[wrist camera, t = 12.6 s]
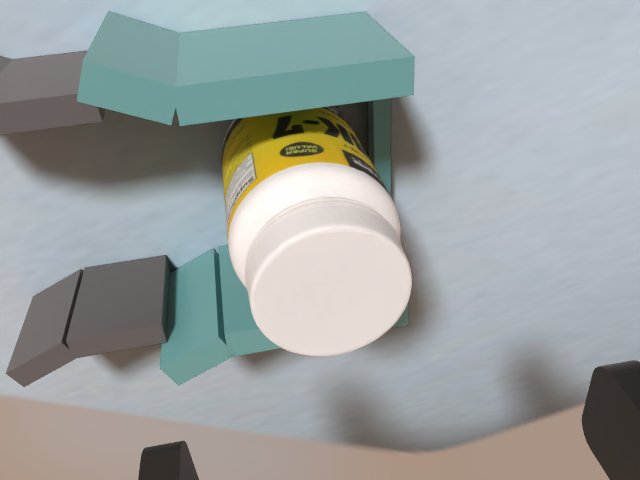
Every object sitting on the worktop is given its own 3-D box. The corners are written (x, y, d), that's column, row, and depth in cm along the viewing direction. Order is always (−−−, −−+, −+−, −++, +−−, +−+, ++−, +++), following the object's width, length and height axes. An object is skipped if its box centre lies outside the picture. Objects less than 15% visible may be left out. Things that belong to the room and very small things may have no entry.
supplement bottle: (375, 115, 21) (467, 246, 14) (320, 223, 23) (376, 384, 16) (248, 64, 19) (280, 186, 12) (201, 187, 21) (205, 350, 14)
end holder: (383, -19, 18) (439, 18, 14) (385, 258, 24) (424, 340, 20) (94, 12, 17) (64, 62, 13) (170, 293, 23) (165, 388, 19)
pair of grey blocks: (103, 18, 17) (83, 57, 14) (174, 289, 23) (171, 360, 20) (-81, 39, 17) (-146, 84, 14) (39, 311, 23) (13, 389, 19)
